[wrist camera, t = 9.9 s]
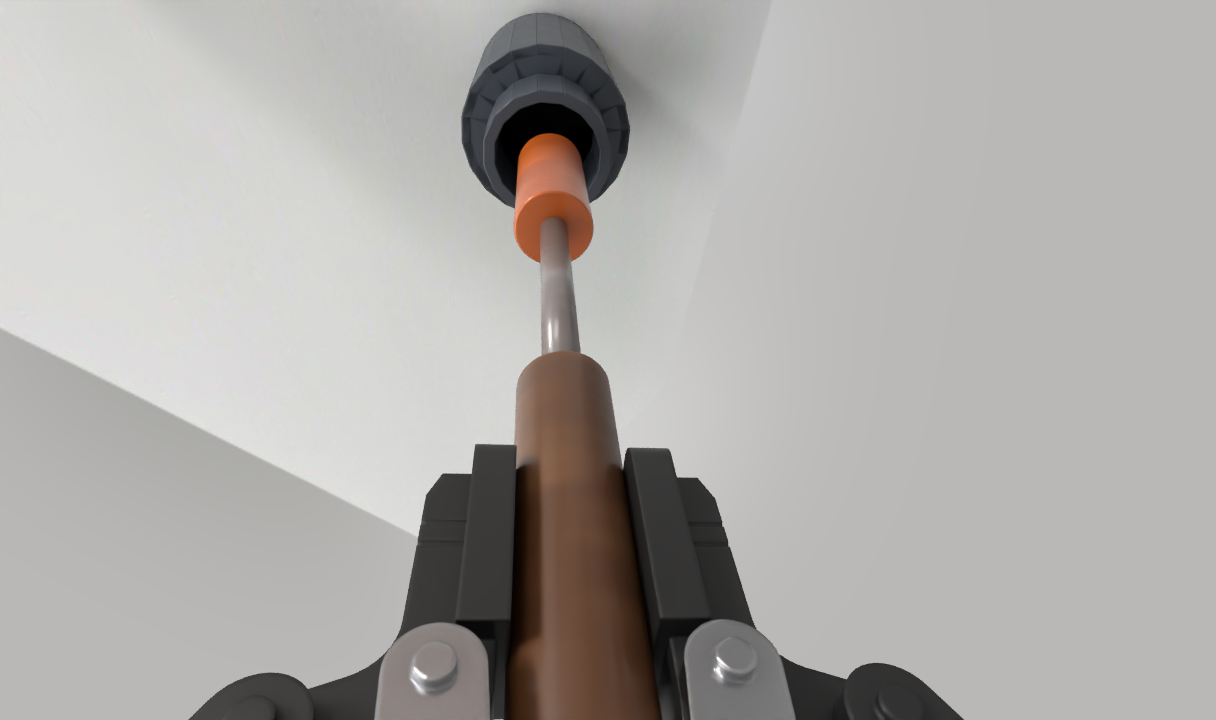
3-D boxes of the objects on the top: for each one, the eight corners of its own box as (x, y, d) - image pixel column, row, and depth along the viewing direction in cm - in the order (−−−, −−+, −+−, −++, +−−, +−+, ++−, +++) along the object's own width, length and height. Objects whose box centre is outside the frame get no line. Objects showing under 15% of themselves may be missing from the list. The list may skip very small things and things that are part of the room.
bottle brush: (583, 135, 28) (712, 708, 8) (578, 197, 29) (676, 823, 9) (519, 130, 27) (474, 715, 7) (517, 193, 29) (475, 832, 9)
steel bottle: (613, 20, 41) (650, 68, 28) (600, 152, 45) (627, 248, 32) (479, 6, 40) (452, 49, 27) (479, 142, 44) (455, 237, 31)
